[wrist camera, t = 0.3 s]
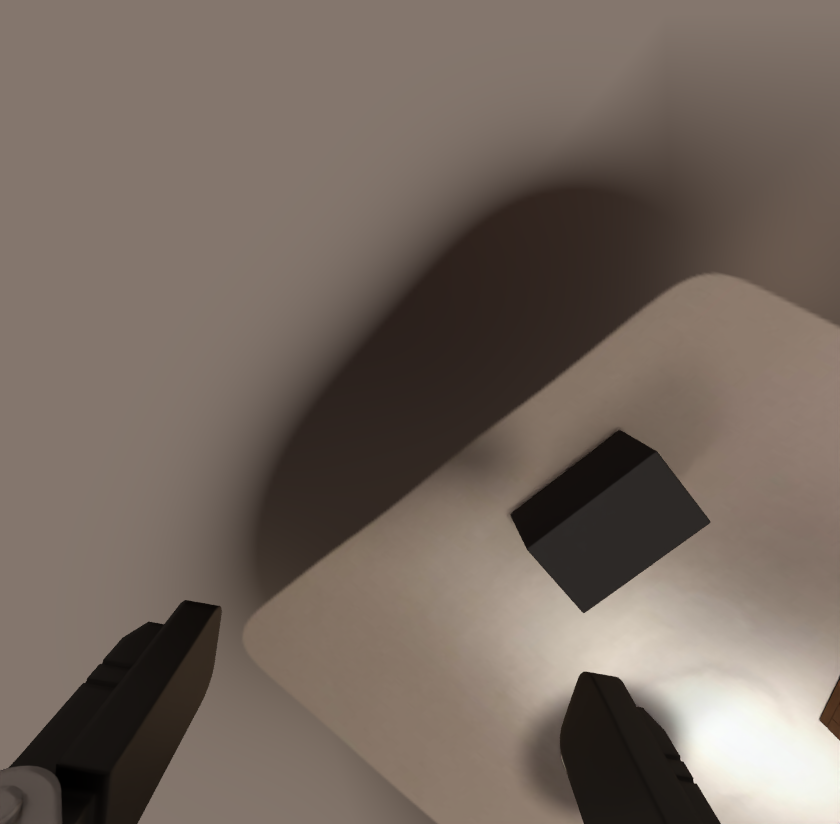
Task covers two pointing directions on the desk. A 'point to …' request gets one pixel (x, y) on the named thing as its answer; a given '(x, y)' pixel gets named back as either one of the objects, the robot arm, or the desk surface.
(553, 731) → the desk surface
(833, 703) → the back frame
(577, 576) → the black block
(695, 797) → the robot arm
